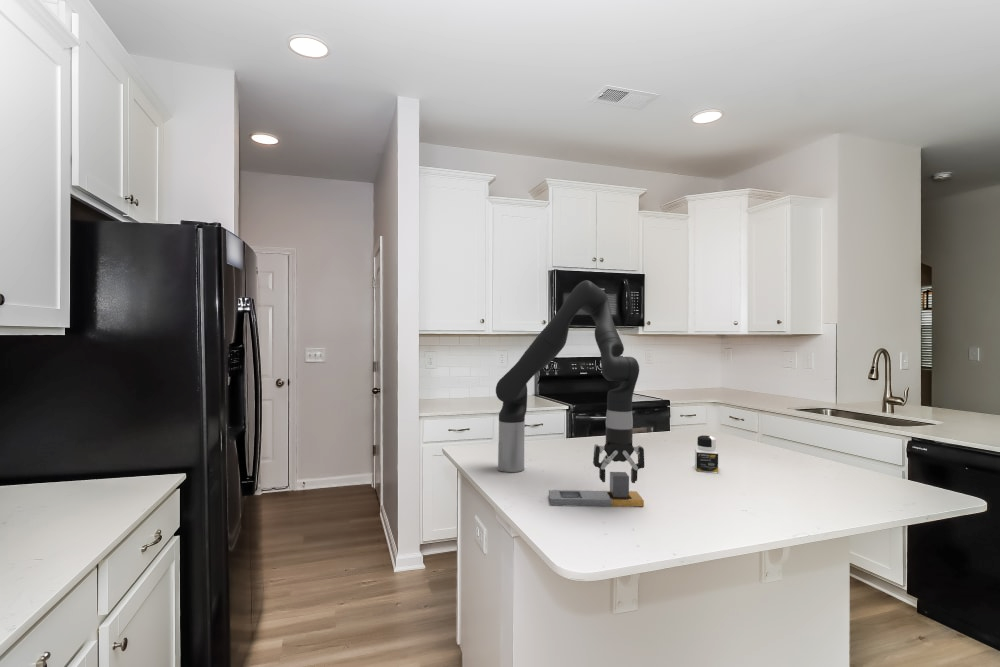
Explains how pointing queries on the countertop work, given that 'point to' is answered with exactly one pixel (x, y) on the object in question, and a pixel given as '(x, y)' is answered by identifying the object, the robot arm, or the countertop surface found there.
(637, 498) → the rail
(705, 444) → the medicine bottle
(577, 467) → the countertop surface
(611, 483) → the grey rectangular block
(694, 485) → the countertop surface
